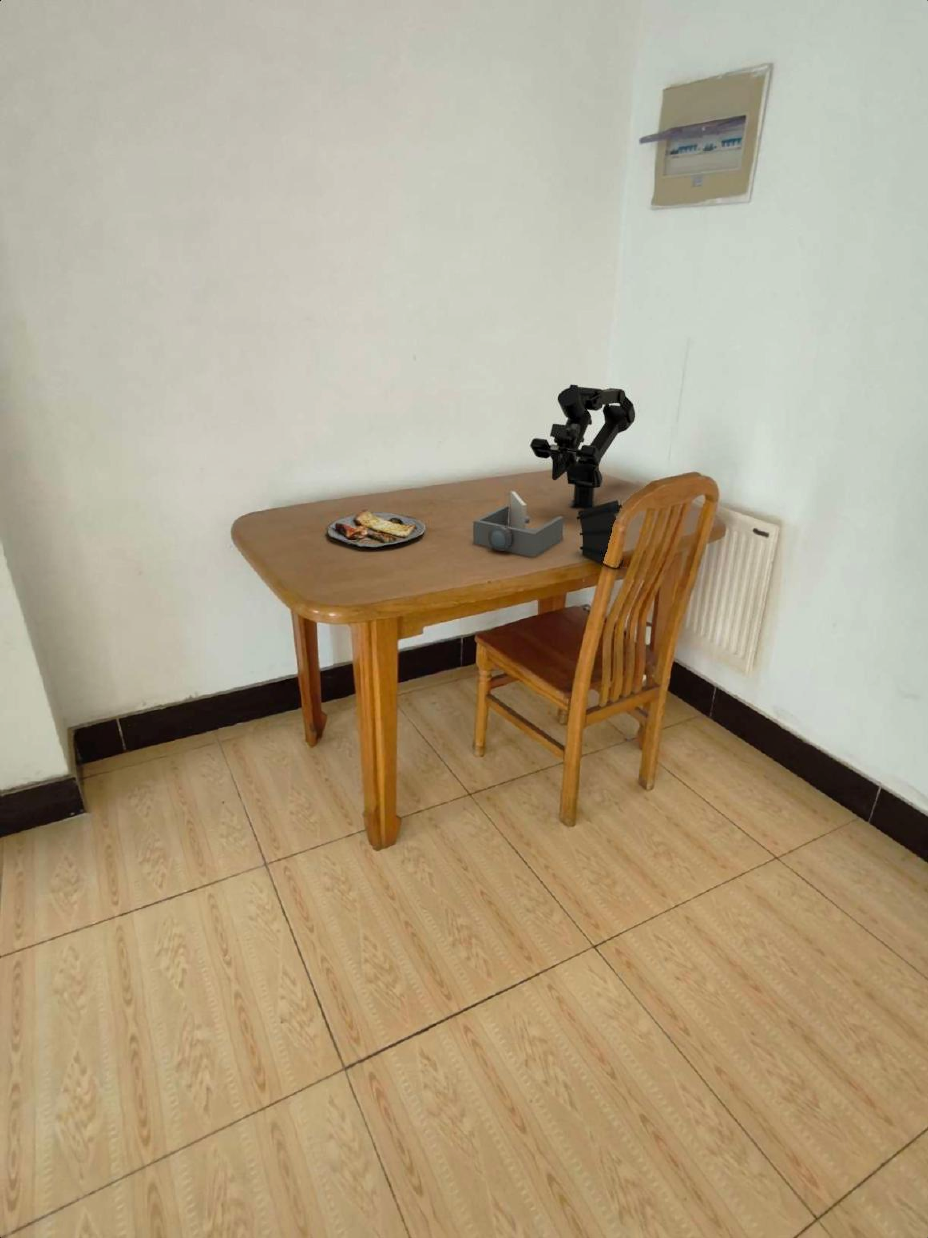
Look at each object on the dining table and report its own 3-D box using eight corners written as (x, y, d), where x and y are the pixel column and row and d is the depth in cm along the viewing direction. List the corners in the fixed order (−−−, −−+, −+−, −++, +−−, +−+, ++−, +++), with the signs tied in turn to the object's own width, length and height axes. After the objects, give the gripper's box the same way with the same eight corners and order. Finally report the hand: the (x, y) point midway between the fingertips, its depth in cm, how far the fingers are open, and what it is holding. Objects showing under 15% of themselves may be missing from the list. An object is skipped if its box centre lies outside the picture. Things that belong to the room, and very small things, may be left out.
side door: (508, 523, 191) (509, 490, 187) (517, 523, 192) (518, 490, 188) (520, 539, 180) (521, 505, 176) (529, 539, 180) (530, 504, 176)
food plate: (309, 535, 186) (308, 522, 185) (372, 514, 203) (371, 502, 201) (380, 560, 173) (380, 546, 171) (441, 535, 190) (441, 522, 188)
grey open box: (505, 526, 193) (505, 502, 190) (563, 538, 185) (564, 514, 182) (468, 546, 180) (468, 520, 177) (528, 560, 171) (529, 534, 168)
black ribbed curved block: (624, 567, 163) (608, 502, 162) (585, 573, 174) (570, 513, 173) (635, 563, 165) (620, 499, 164) (596, 570, 176) (581, 510, 175)
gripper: (534, 407, 191) (512, 457, 187) (600, 414, 181) (577, 467, 178) (547, 431, 200) (526, 480, 197) (610, 440, 191) (589, 491, 187)
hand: (553, 479), depth 190 cm, fingers closed
